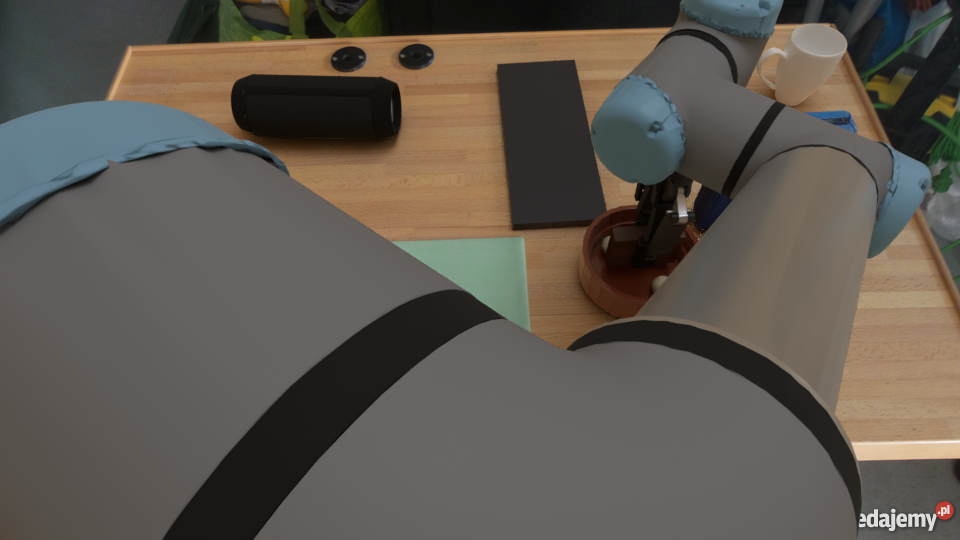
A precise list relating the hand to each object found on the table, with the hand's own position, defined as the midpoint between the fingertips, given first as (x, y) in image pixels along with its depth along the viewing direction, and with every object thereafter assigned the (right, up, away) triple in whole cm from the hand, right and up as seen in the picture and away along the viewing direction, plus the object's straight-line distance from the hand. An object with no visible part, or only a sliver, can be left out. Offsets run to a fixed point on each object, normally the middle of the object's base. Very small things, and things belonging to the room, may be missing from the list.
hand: (639, 256), depth 77 cm
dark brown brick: (0, 0, 0) cm, 0 cm away
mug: (+29, +27, +20) cm, 45 cm away
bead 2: (+3, -4, -2) cm, 5 cm away
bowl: (0, -3, +2) cm, 3 cm away
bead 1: (-3, +2, +2) cm, 4 cm away
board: (-11, +20, +16) cm, 28 cm away
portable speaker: (-48, +22, +19) cm, 56 cm away
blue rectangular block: (+16, +5, +6) cm, 18 cm away
